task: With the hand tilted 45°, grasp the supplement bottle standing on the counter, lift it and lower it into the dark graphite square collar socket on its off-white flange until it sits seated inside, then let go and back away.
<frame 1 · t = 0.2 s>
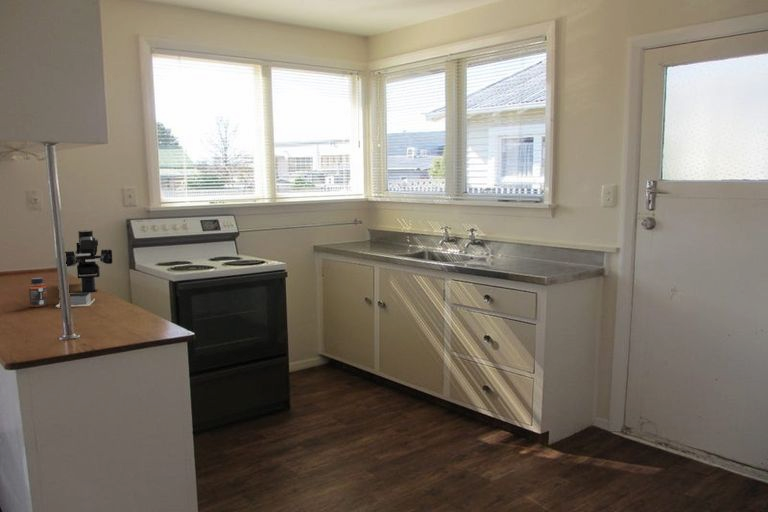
hand: (88, 260, 253), 17 cm above the worktop, tool horizontal, fingers open, 9 cm apart
supplement bottle: (38, 306, 244), on the worktop
square collar: (75, 303, 249), on the worktop
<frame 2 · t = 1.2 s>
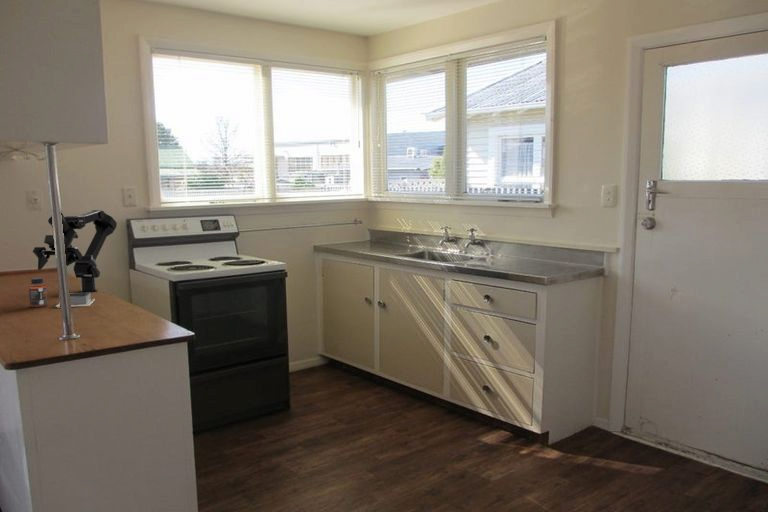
hand: (49, 269, 250), 13 cm above the worktop, tool tilted 45°, fingers open, 9 cm apart
nothing on the worktop moved.
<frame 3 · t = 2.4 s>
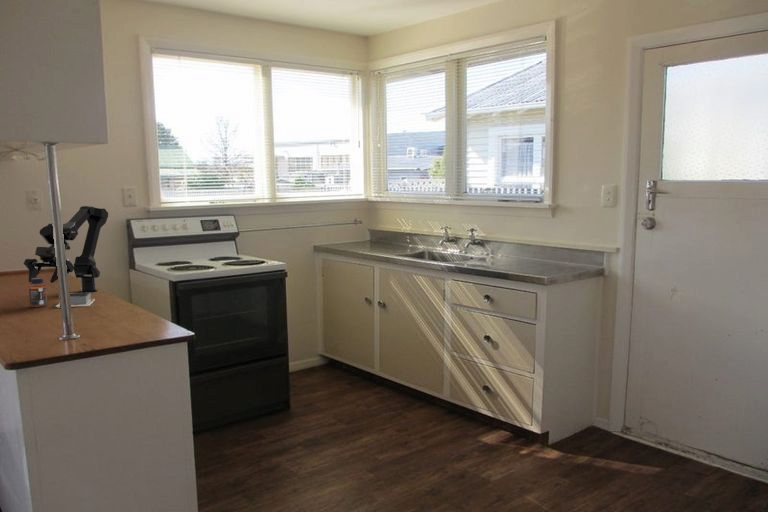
hand: (40, 282, 245), 9 cm above the worktop, tool tilted 45°, fingers open, 9 cm apart
nothing on the worktop moved.
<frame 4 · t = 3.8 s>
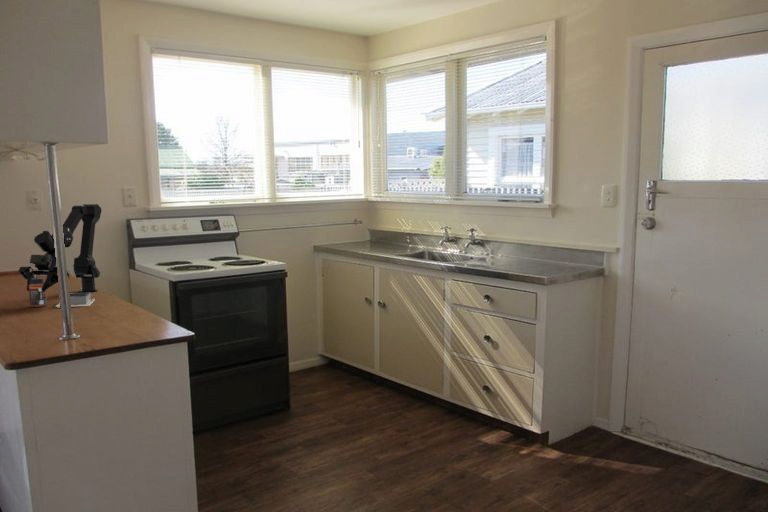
hand: (35, 290, 242), 7 cm above the worktop, tool tilted 45°, fingers closed on supplement bottle, 6 cm apart
supplement bottle: (38, 306, 244), on the worktop, touching gripper
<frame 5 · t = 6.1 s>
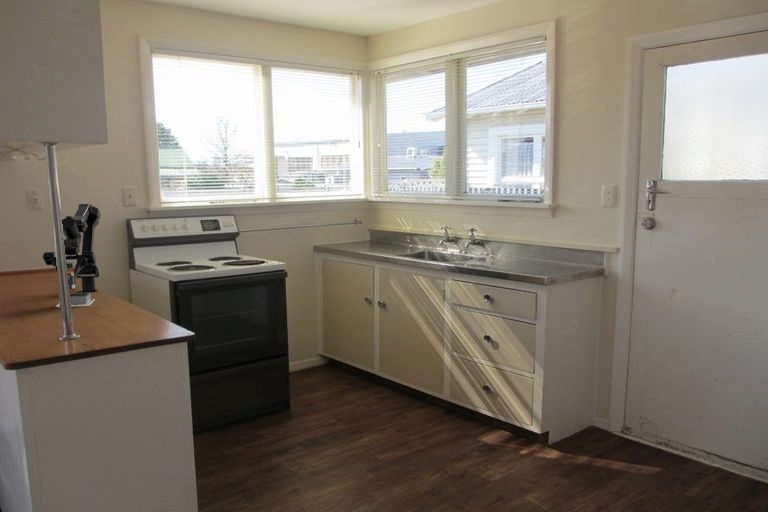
hand: (66, 274, 245), 12 cm above the worktop, tool tilted 45°, fingers closed on supplement bottle, 6 cm apart
supplement bottle: (68, 291, 247), point 5 cm above the worktop, touching gripper
when the fingers open (8 cm above the worktop, at t = 8.2 s): supplement bottle stays where it is, resting on square collar.
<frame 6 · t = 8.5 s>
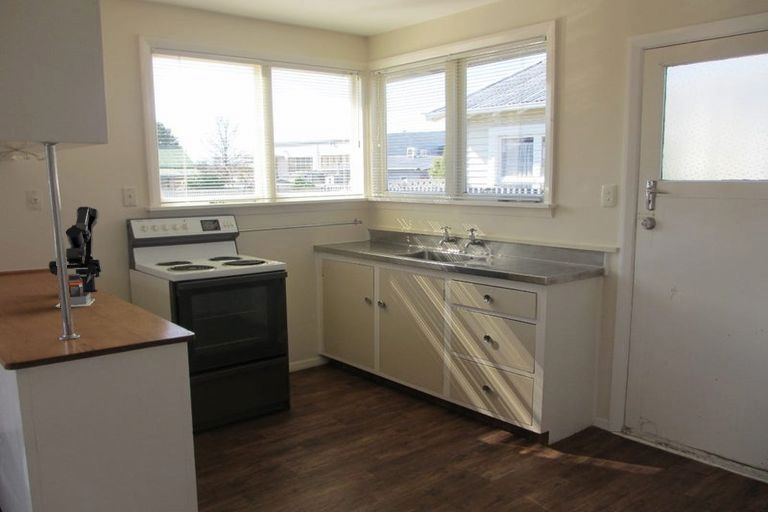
hand: (73, 283, 246), 9 cm above the worktop, tool tilted 45°, fingers open, 9 cm apart
supplement bottle: (75, 302, 249), resting on square collar
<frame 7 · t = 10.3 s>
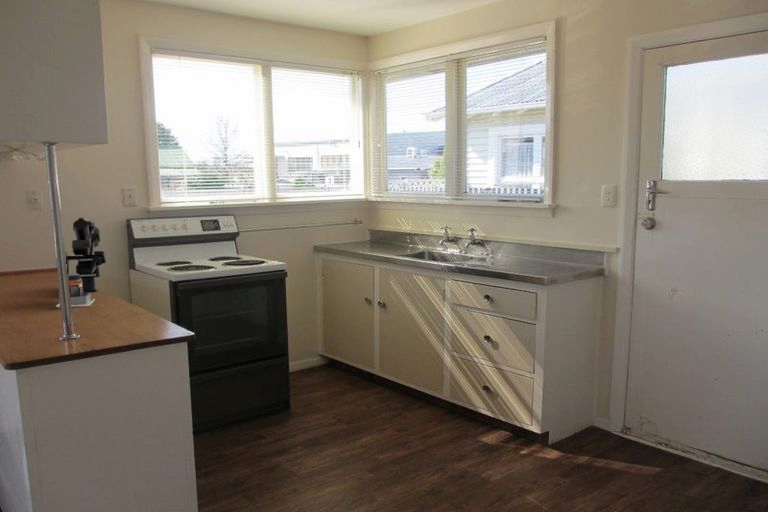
hand: (79, 273, 257), 11 cm above the worktop, tool tilted 45°, fingers open, 9 cm apart
nothing on the worktop moved.
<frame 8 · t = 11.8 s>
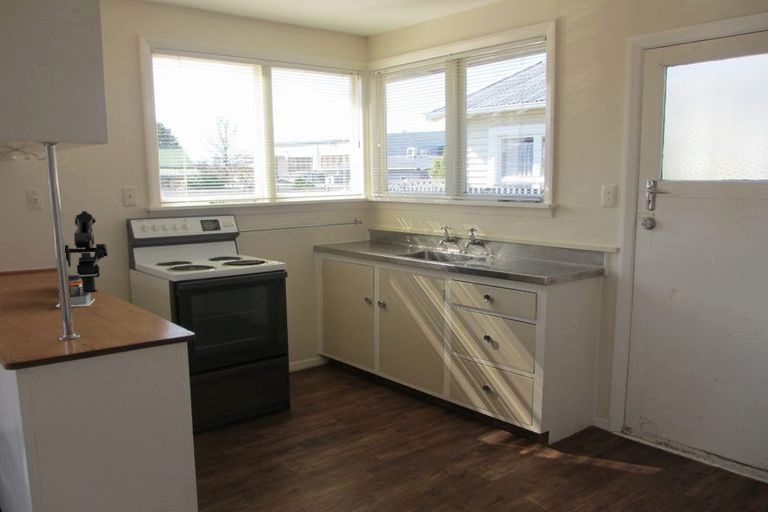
hand: (81, 266, 259), 14 cm above the worktop, tool tilted 45°, fingers open, 9 cm apart
nothing on the worktop moved.
at the end: supplement bottle 0.1 cm off-centre on the square collar, point 0.4 cm above the square collar's base; supplement bottle tilted 0°; the gripper is holding nothing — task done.
